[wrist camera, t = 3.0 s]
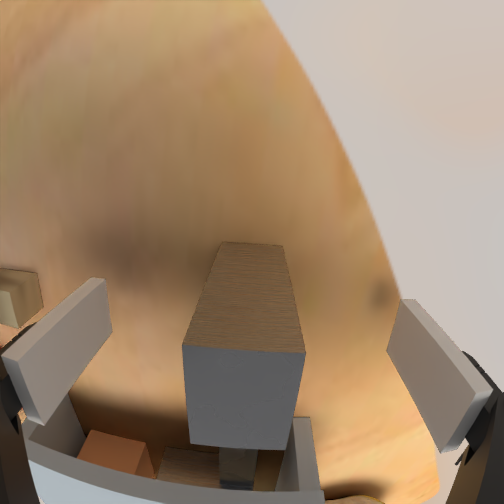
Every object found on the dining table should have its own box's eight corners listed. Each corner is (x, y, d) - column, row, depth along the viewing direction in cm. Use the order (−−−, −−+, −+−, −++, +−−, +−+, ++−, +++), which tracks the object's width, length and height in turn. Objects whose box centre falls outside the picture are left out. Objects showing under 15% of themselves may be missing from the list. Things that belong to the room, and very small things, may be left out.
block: (91, 428, 21) (70, 470, 17) (145, 441, 21) (129, 489, 17) (105, 460, 23) (89, 499, 18) (154, 472, 23) (142, 514, 18)
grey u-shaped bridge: (51, 376, 20) (0, 445, 12) (311, 412, 19) (326, 511, 12) (91, 468, 24) (67, 526, 16) (285, 497, 23) (288, 565, 16)
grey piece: (140, 236, 16) (40, 321, 7) (282, 245, 16) (305, 353, 7) (168, 461, 22) (147, 549, 13) (255, 471, 22) (253, 562, 13)
